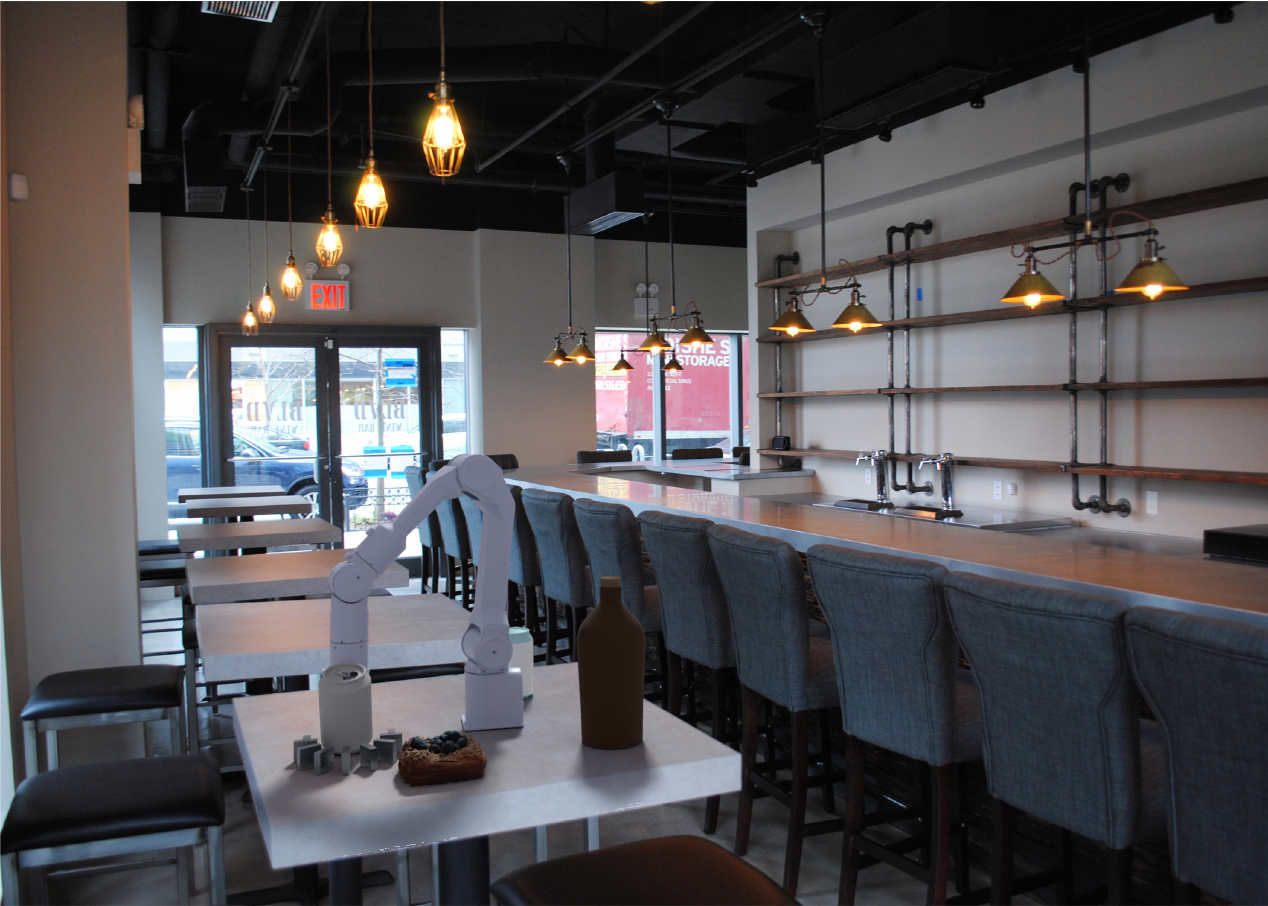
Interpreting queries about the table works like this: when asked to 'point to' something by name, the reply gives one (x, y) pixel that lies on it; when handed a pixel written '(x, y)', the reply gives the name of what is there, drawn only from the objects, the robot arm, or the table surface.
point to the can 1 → (345, 707)
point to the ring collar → (346, 753)
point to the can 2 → (523, 657)
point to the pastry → (441, 760)
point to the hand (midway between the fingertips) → (348, 728)
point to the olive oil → (611, 672)
